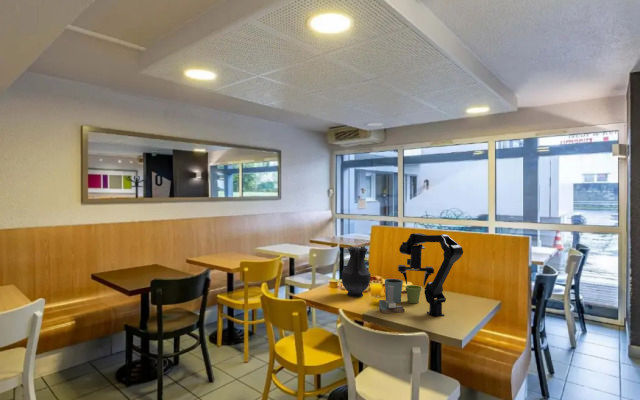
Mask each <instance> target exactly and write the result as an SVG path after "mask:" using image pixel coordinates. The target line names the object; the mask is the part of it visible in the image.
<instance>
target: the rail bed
mask: <svg viewBox="0 0 640 400" xmlns="http://www.w3.org/2000/svg"><path fill="white" fill-rule="evenodd" d="M378 301H379V303H378V310H379V311H380V312H381V313H382V314H393V313H394V314H395V313H405V308H404V305H396V307H395V308H388V307H387V302H386V299H379V300H378Z"/></svg>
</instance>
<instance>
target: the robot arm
mask: <svg viewBox="0 0 640 400" xmlns="http://www.w3.org/2000/svg"><path fill="white" fill-rule="evenodd" d="M425 243H426V244H427V243H439V244H440V247H441V250H442V251H443V261H442V262H441V265H440V266H439V269H438V271H437V273H436V275H435V277H434V279H433V281H431V282H430V281H429V282H427V280H428V278H429V277H430V276H432V275H433V274H435V268H434V267H433V266H425V267H422V250H424V249H426V248H425V246H424V245H423V244H425ZM399 252H400V253H401V254H402V255H408V256H410V258H407V259H406V265H408V266H406V265H405V264H398V265H397V266H398V267H397V272H400V274H402V275H403V278H404V280H405V281H404V282H405V284H406V285H405V286H407V285H408V277H407V271H410V272H411V271H415V272H424V277H423V286H425V287H424V297H425V301H426V302H427V304H429V305H428V306H429V308H428V309H429V311H426V314H428V315H430V316H432V317H442V316H445V314H444V313H443V303H446V300H447V298H446V297H445V295H444V294H443V292H444V287H443V285H444V284H445V281H446V279H447V278H448V276H449V273H450V272H451V269H452V267H453V266H454V264H455V263H456V262H457V261H458V260H459V259H460V258H461V257H462V256H463V254H464V249H463V247H462V246H461V245H460V244H458V242H456V241H455V240H454V239H452V238H451V237H450V236H449V235H448V234H434V235H433V234H431V235H430V234H425V233H419V232H418V233H411V234H410V235H409V237H408V239H407V240H406V241H402V242H401V245H400V246H399Z"/></svg>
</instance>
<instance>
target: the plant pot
mask: <svg viewBox="0 0 640 400" xmlns="http://www.w3.org/2000/svg"><path fill="white" fill-rule="evenodd" d="M404 287H405V291H406V296H407V297H406V298H407V302H408V303H410V304H418V303H420V296H421V292H422V288H423V287H422V286H420V285H412V284H409V285H408V284H407V285H405V286H404Z"/></svg>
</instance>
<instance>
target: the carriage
mask: <svg viewBox="0 0 640 400" xmlns="http://www.w3.org/2000/svg"><path fill="white" fill-rule="evenodd" d="M393 288H394V287H393V286H388V301H386V300H385V301H386V302H387V307H388V308H395V307H396V306H397V303H394V302H393Z"/></svg>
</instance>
